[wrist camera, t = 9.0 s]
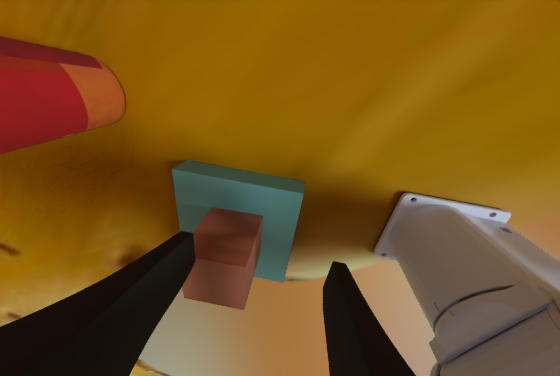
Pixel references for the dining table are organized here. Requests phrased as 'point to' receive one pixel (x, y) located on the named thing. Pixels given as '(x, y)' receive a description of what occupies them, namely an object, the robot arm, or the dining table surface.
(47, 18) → the dining table surface
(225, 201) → the teal base board
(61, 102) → the paper cup
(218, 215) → the red wood block
